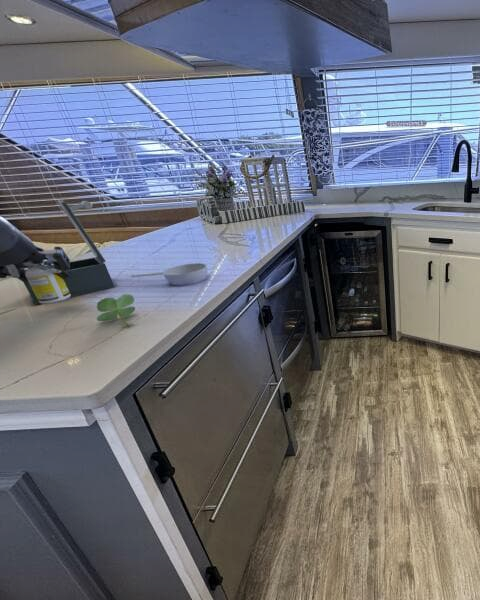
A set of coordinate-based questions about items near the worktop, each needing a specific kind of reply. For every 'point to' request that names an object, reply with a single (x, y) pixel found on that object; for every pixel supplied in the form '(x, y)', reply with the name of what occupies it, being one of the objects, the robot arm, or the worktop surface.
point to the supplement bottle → (47, 285)
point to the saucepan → (182, 274)
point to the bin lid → (79, 227)
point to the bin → (83, 278)
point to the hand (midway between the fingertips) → (50, 278)
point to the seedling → (115, 308)
